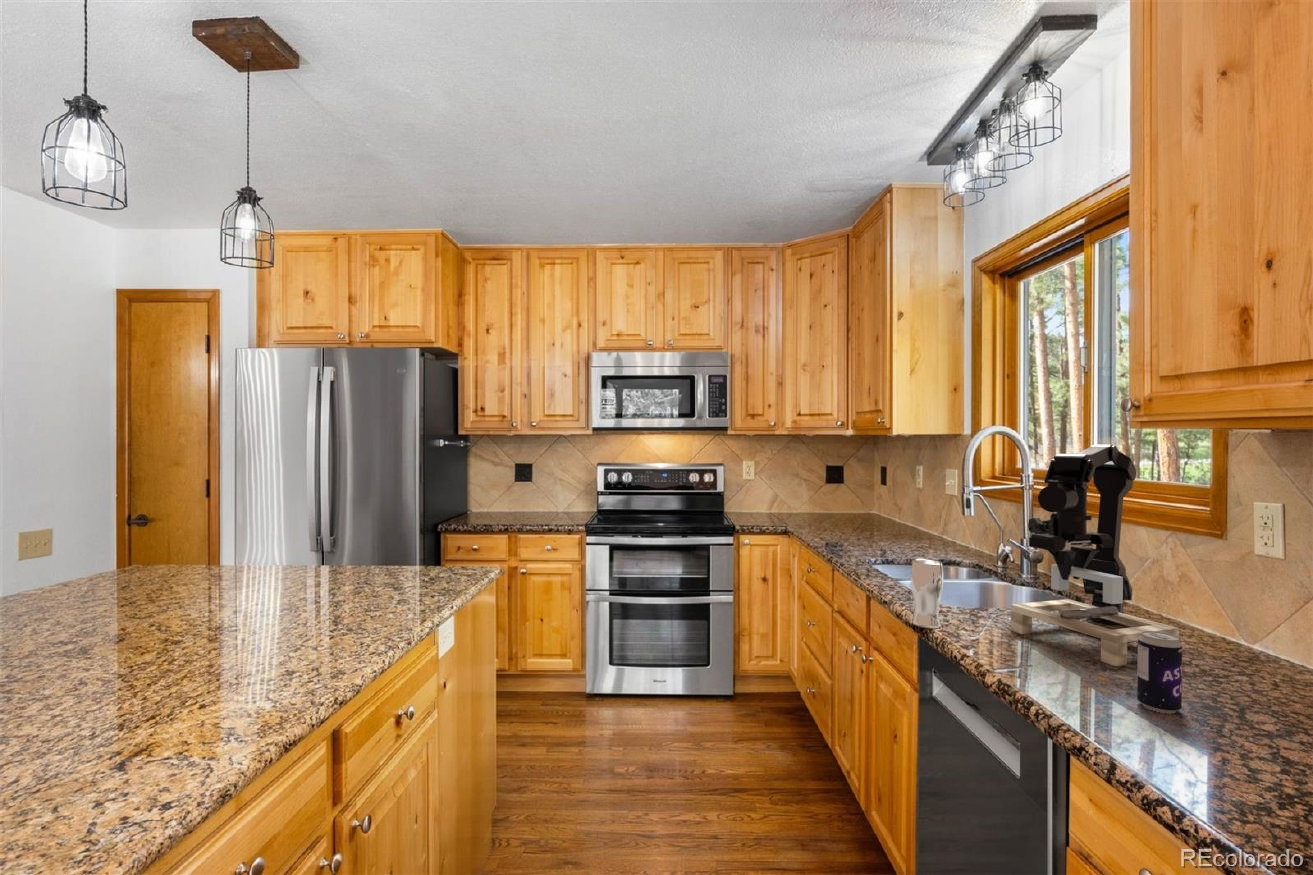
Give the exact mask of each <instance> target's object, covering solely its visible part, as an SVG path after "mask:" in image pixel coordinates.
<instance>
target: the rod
mask: <svg viewBox="0 0 1313 875" xmlns="http://www.w3.org/2000/svg"><path fill="white" fill-rule="evenodd" d="M1118 613H1119V610H1118V608H1117V607H1115V606H1108V607H1098V608H1088V609H1078V610H1068V611H1062V612H1061V613H1060V617H1062V618H1066V619H1076V620H1077V619H1080V620H1085V619H1087V618H1095V617H1105V616H1112V615H1113V614H1118Z"/></svg>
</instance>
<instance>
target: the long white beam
mask: <svg viewBox="0 0 1313 875" xmlns="http://www.w3.org/2000/svg"><path fill="white" fill-rule="evenodd" d="M1050 569H1051V574H1050V575H1051V576H1050V589H1051V590H1055V591H1069V590H1070V577H1069V578H1068V580H1063V579H1062V577H1061V575H1060V572H1059V569H1058V567H1057V564H1056V563H1055V564H1054V563H1053V564H1051V568H1050ZM1069 576H1071V577H1073V576H1075V577H1080V578H1079V579H1081V578H1082V579H1083V578H1084V579H1089V580H1093V581H1098V582H1102V583H1103V602H1106V603H1110V604H1119V603H1123V604H1124V601H1123V577H1121V576H1116V575H1112V574H1107V573H1102V572H1097V571H1093V570H1088V569H1083V568H1078V567H1074V566H1072V568H1071V572H1070V575H1069Z"/></svg>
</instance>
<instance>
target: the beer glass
mask: <svg viewBox="0 0 1313 875" xmlns="http://www.w3.org/2000/svg"><path fill="white" fill-rule="evenodd" d="M911 563H912V564H911V576H910V578H911V579H910V580H911V593H912V598H913V603H914V613H913V618H912V624H913V625H914V626H915V627H918V628H924V629H940V628H941V620H940V613H939V612H940V604H941V599H942V594H943V588H944V569H943V562H942V561H939V560H937V559H936V560H935V559H929V558H928V559H927V558H916V559H912V562H911Z"/></svg>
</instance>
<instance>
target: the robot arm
mask: <svg viewBox="0 0 1313 875" xmlns="http://www.w3.org/2000/svg"><path fill="white" fill-rule="evenodd" d="M1049 463H1050V464H1049V466H1048V470H1047V471H1046V474H1045V479H1044V484H1047V486H1045V487H1043V488H1042V489H1040V491H1039V492H1038V495H1037V502H1038V504H1039V506H1040V507H1041V508H1042V509H1043V510H1045V511H1046V512H1049V513H1051V514H1050V519H1047V520H1042V519H1041V518H1040V517H1033V518H1029V519H1028V522H1027V523H1028V524H1027V528H1028V532H1029V533H1031V535H1030V536H1029V537H1028V547H1030V548H1036V549H1041V550H1044V551H1048V553H1050V554H1051V556H1052V557H1053V559H1054V561H1055V564H1057V567H1058V569H1059V572H1060V575H1061V577H1062V579H1063V580H1068V578H1069V579H1070V576H1071V575H1070V572H1071V568H1072V566H1074V567H1078V568H1083V569H1088V570H1093V571H1097V572H1102V573H1107V574H1112V575H1116V576H1121V577H1123V603H1119V604H1110V603H1106V602H1103V583H1102V582H1098V581H1093V580H1089V579H1084V578H1082V583H1083V590H1084V594H1086V595H1092V596H1091V597H1092V598H1091V599H1092V601H1091V605H1092V606H1096V607H1108V606H1115V607H1117V608H1118V610H1119V613H1123V614H1124V602H1126V601H1133V587H1132V585H1131V583H1130V581H1129V578H1128V576H1127V569H1126V567H1125V565H1124V563H1123V561H1122V560H1121V558H1120V556H1119V555H1120V543H1121V533H1122V532H1121V531H1122V517H1123V516H1122V515H1123V506H1124V497H1126V495H1127V494H1129V492H1130V491H1131V490H1132V489H1133V486H1134V481H1135V480H1136V477H1137V468H1136V466H1135V464H1134V461H1133V460H1132V458H1130V457H1129V456H1127V455H1125V453H1123V452H1121V451H1120V450H1119V449H1118V446H1117V445H1114V444H1092V445H1090V446H1089V447H1088V448H1085V449H1083V450H1080V451H1078V452H1076V453H1057V454H1055V455H1054V457H1053V458H1052V459H1051V460H1050V462H1049ZM1092 478H1093V482H1092V483H1093V486H1094V488H1096V490H1097V491H1098V493H1099V506H1098V507H1099V508H1098V516H1097V517H1098V518H1097V519H1098V520H1097V531H1096V532H1093V531H1088V530H1087V523H1088V522H1087V521H1092V515H1091V514H1090V515H1089V514H1088V510H1087V509H1088V507H1087V506H1088V490H1089V485H1088V484H1089V483H1090V482H1091V481H1092ZM1094 545H1095V548H1094ZM1072 578H1073V580H1080V579H1081V578H1080V577H1075V576H1072ZM1086 619H1088V620H1091V621H1095V622H1097V623H1101V624H1105V625H1109V626H1117V625H1118V626H1119V625H1122V624H1121V623H1117V622H1114V621H1110V620H1107V619H1103V618H1099V617H1095V618H1086Z"/></svg>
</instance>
